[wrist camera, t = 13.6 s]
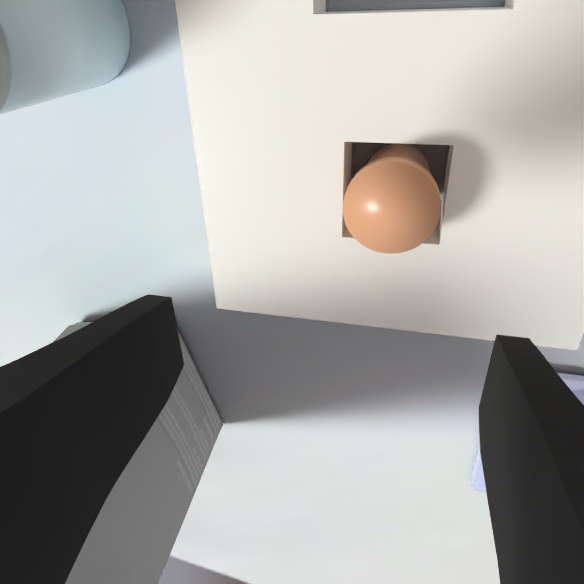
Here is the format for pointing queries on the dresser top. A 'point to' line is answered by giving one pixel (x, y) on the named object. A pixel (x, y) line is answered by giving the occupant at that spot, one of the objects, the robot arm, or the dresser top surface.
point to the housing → (393, 129)
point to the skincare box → (151, 488)
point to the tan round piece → (393, 201)
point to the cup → (59, 48)
